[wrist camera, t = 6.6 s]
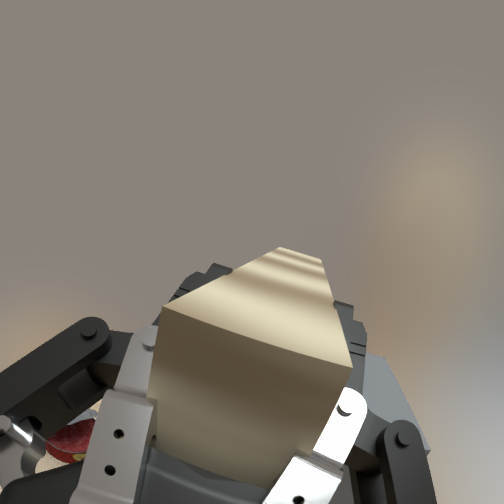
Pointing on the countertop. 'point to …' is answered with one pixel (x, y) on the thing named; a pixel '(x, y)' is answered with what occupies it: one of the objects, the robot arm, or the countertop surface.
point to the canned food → (72, 438)
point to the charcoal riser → (377, 400)
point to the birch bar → (249, 368)
